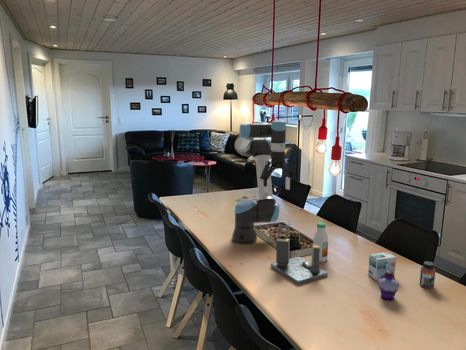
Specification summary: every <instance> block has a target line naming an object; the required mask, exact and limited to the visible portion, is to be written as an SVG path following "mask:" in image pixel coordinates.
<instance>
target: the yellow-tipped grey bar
mask: <svg viewBox="0 0 466 350" xmlns="http://www.w3.org/2000/svg"><path fill="white" fill-rule="evenodd" d="M290 242H291V241H290V238H286V239H283V238H277V239H276V252H275V253H276V254H275V255H276V257H275V258H276V259H275V262H276V263H278V265H279V266H281V267H285V266H287V265H288V264H289V259H290V244H291V243H290Z"/></svg>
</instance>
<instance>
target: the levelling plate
mask: <svg viewBox="0 0 466 350" xmlns="http://www.w3.org/2000/svg"><path fill="white" fill-rule="evenodd" d="M311 263H312V262H310V261H308V260H307V259H304V258H302V257H300V256H296V257H291V258H290V257H289V264H288V265H287V266H285V267H281V266H279V265H278V263H276V261H275V262H272V263H270V268H271V267H272V270H274V269H275V270H274V271H276V272H277V271H278V272H277V273H278V274H280V273H281V275H282V276H284V277H285V278H286V277H287V278H286V279H288V280H289V279H290V280H289V281H291V282H292V281H293V283H294V282H295V283H294V284H295V285H297V284H298V285H297V286H300V285H303V284H306V283H309V282H313V281H316V280H319V279H323V278H326V277H328V271H325V270H324V269H322V268H320V267H319V269H320V273H311V272H310V268H312V267H311ZM299 284H300V285H299Z"/></svg>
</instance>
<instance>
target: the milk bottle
mask: <svg viewBox="0 0 466 350" xmlns="http://www.w3.org/2000/svg"><path fill="white" fill-rule="evenodd" d="M326 228H327V224H326V223H325V222H317V223H316V231H315V233H314V234H313V235H314V236H313V240H312V241H313V243H312V244H318V245H319V247H320V252H319V263H324V262H326V261H328V256H329V255H328V254H329V253H328V252H329V251H328V250H329V237H328V234H327V232H326Z"/></svg>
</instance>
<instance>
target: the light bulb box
mask: <svg viewBox="0 0 466 350" xmlns="http://www.w3.org/2000/svg"><path fill="white" fill-rule="evenodd" d="M368 258H369V260H368V272H367V275H368V276H369V277H371V278H372V279H373V280H375V281H379V279H383V278H384V273H386V271H388V270H389V271H392V272H393V274H394V276H395V275H396V264H397V257H396V256H395V255H393V254H392V253H390V252H388V251H386V252H378V253H370V254H369V256H368Z"/></svg>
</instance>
